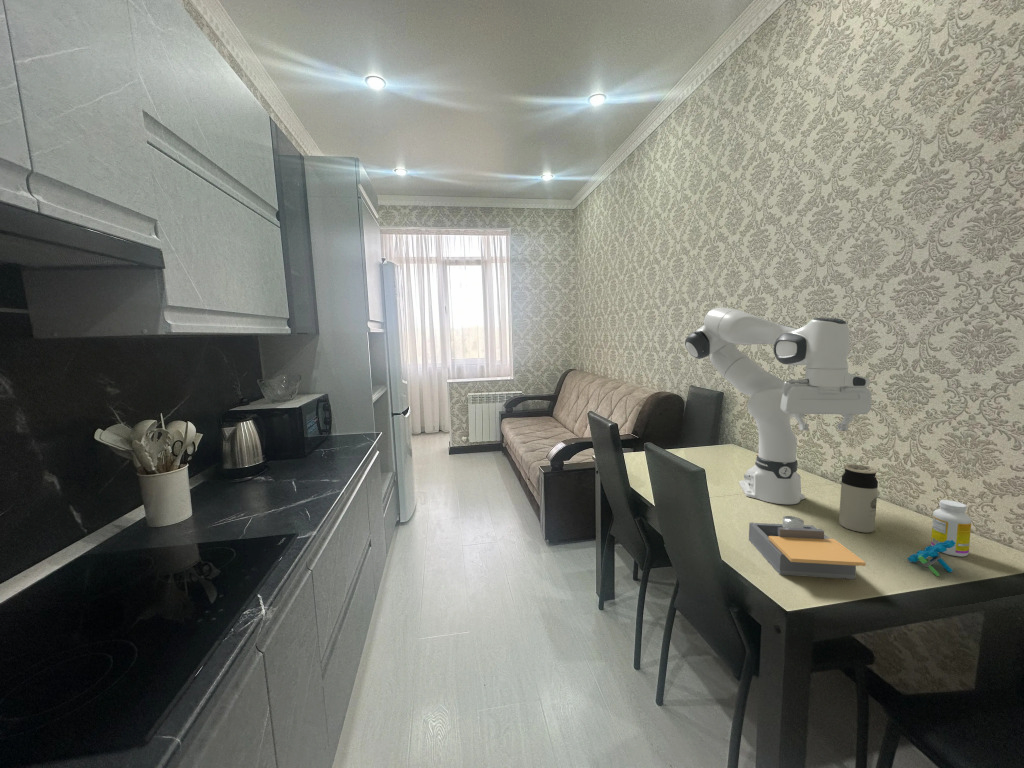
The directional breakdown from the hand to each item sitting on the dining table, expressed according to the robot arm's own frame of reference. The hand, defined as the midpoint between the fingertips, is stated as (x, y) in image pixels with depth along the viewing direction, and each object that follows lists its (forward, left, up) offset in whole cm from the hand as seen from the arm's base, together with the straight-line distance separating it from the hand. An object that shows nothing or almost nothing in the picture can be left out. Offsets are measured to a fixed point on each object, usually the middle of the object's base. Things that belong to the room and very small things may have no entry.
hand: (822, 430), depth 107 cm
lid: (+16, -10, -26) cm, 32 cm away
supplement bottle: (+2, +30, -31) cm, 43 cm away
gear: (+11, +19, -31) cm, 38 cm away
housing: (+10, -10, -31) cm, 34 cm away
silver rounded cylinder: (+7, -10, -30) cm, 33 cm away
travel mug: (-10, +16, -31) cm, 37 cm away
